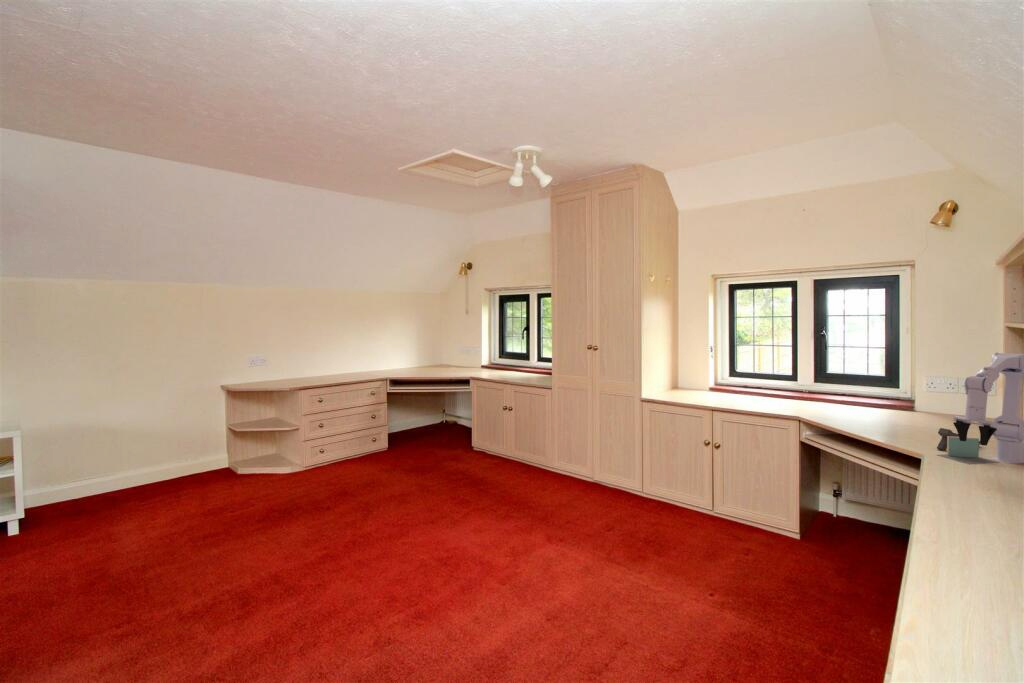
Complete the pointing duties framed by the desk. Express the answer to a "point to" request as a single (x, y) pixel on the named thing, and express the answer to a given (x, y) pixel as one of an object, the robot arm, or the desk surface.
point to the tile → (963, 447)
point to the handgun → (945, 438)
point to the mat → (969, 459)
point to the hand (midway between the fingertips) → (972, 443)
